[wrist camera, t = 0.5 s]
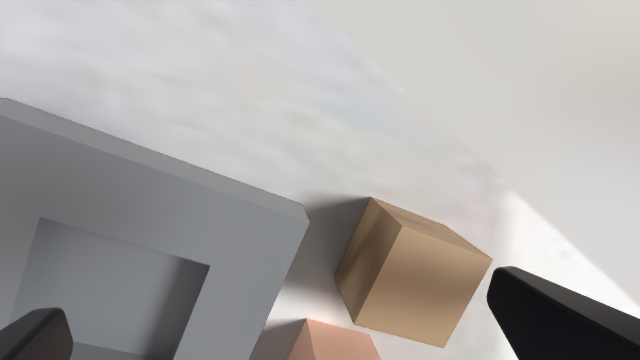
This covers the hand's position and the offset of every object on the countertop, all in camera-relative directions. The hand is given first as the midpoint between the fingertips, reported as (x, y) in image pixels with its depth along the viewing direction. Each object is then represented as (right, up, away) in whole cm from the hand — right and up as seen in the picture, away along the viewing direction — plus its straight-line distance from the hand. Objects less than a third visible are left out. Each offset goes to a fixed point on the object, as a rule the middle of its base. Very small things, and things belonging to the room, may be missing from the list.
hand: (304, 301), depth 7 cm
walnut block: (+5, -2, +16) cm, 17 cm away
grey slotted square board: (-11, -3, +13) cm, 17 cm away
